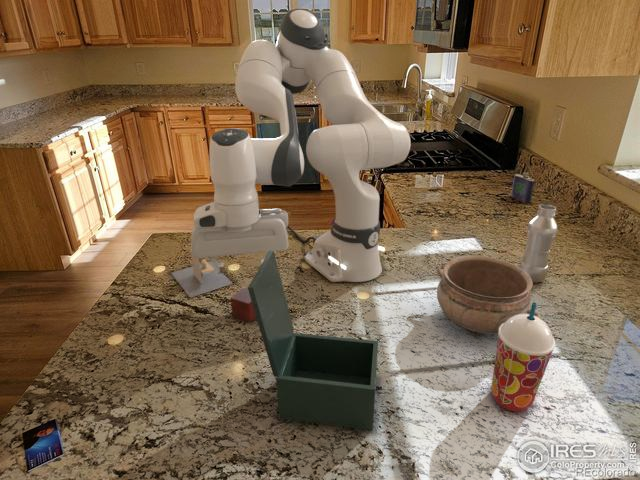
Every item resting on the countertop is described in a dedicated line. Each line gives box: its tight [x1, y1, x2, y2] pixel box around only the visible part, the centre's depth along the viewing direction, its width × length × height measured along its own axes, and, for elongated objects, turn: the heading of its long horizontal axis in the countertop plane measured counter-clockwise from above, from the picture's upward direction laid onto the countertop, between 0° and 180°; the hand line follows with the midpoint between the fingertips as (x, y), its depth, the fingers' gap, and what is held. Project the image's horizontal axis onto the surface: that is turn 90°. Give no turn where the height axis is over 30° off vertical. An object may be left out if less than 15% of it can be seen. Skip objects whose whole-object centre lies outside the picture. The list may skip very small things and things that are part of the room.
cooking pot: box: [436, 255, 542, 335], centre depth 91 cm, size 25×19×12 cm
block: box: [230, 287, 257, 323], centre depth 97 cm, size 5×5×5 cm
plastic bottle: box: [518, 204, 558, 283], centre depth 106 cm, size 6×7×20 cm
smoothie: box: [490, 301, 556, 413], centre depth 70 cm, size 8×8×20 cm
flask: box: [509, 172, 535, 205], centre depth 160 cm, size 9×3×11 cm, turn 21°
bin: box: [275, 332, 379, 431], centre depth 73 cm, size 16×12×9 cm
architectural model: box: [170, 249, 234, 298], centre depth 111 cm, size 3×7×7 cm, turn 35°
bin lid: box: [247, 251, 295, 377], centre depth 69 cm, size 16×12×1 cm
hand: (243, 270), depth 93 cm, fingers open, 8 cm apart
